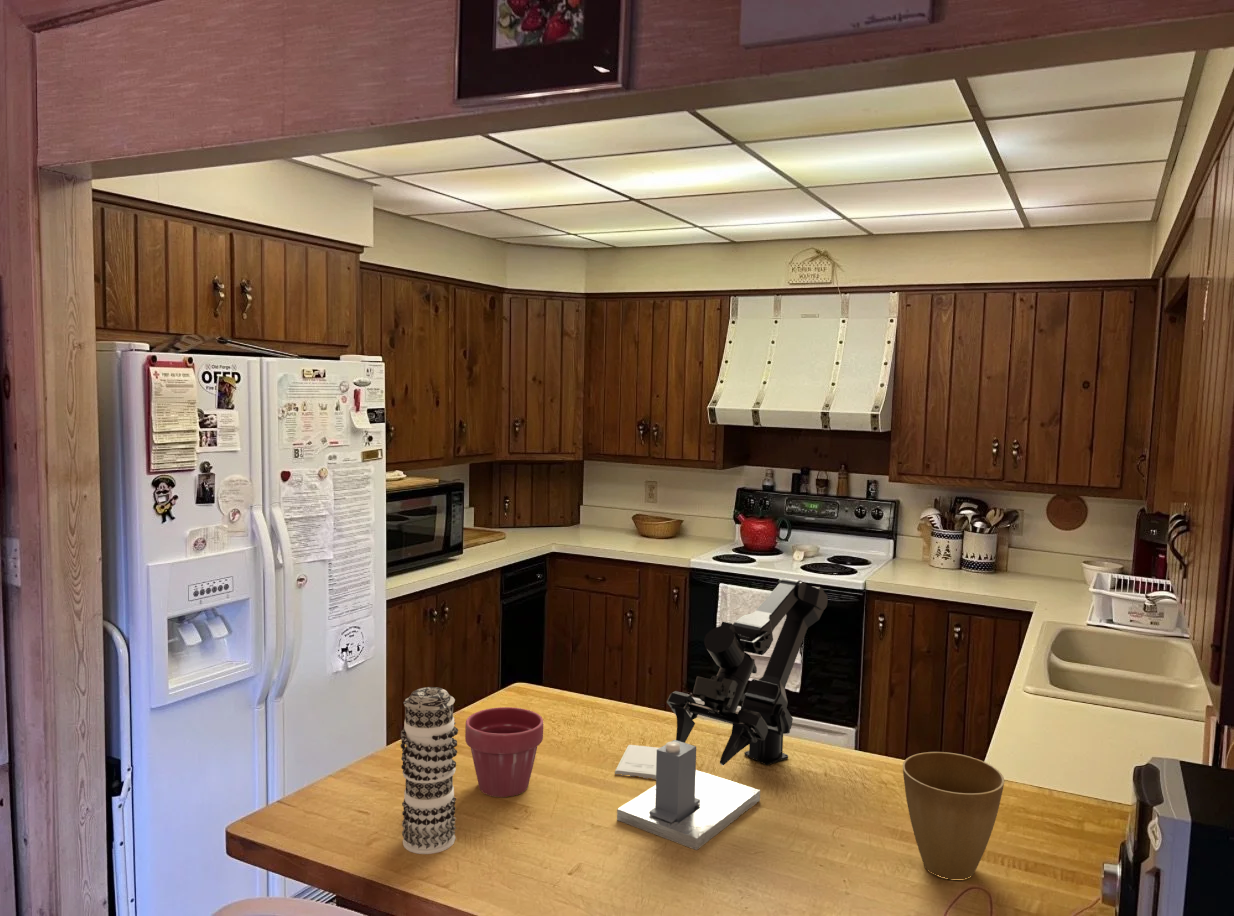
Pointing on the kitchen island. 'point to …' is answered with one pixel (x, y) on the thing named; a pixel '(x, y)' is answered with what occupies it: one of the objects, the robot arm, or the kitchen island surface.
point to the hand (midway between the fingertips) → (698, 757)
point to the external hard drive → (638, 762)
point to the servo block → (675, 782)
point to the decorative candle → (429, 771)
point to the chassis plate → (709, 818)
